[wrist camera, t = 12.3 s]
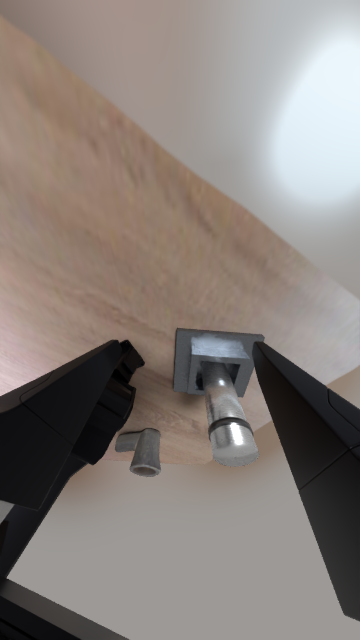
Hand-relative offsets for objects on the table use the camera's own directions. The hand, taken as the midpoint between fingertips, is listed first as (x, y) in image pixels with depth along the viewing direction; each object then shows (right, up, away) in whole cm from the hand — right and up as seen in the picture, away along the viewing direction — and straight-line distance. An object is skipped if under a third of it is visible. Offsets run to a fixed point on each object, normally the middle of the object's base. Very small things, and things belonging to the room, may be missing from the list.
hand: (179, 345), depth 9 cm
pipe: (-10, -30, +30) cm, 44 cm away
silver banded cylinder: (+6, -8, +18) cm, 20 cm away
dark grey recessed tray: (+7, -7, +18) cm, 21 cm away
